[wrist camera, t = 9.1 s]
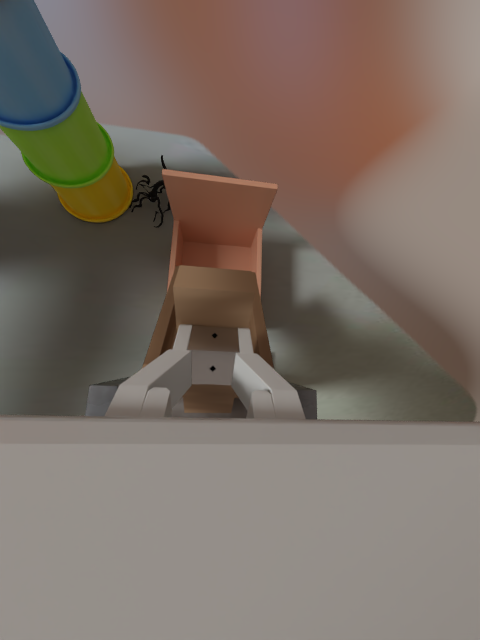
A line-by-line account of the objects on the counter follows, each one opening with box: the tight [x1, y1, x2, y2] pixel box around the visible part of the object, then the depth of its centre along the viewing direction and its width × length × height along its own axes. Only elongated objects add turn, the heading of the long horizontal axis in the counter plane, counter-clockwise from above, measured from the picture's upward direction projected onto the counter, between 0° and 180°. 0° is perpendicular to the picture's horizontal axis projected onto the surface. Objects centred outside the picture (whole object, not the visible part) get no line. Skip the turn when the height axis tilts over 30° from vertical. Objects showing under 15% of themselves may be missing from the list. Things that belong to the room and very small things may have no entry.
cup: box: [162, 169, 278, 299], centre depth 27 cm, size 11×13×13 cm
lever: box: [142, 265, 274, 418], centre depth 17 cm, size 10×14×11 cm
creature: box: [130, 155, 170, 227], centre depth 32 cm, size 8×5×8 cm
